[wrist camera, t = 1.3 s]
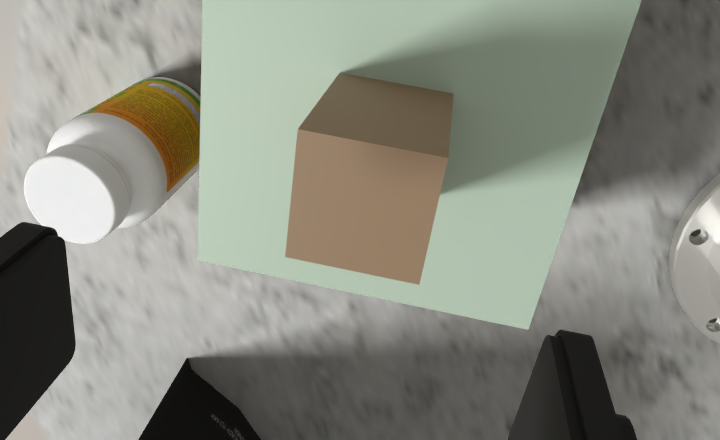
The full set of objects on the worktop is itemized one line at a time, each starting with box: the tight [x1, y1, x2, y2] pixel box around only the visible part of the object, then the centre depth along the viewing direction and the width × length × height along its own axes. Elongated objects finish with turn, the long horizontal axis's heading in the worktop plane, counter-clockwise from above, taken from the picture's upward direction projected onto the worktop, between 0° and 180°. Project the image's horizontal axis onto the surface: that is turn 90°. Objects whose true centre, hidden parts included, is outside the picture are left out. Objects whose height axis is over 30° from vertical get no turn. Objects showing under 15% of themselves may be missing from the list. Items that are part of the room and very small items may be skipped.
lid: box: [198, 0, 642, 330], centre depth 20 cm, size 14×14×7 cm
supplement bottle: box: [24, 77, 201, 244], centre depth 29 cm, size 5×5×10 cm
